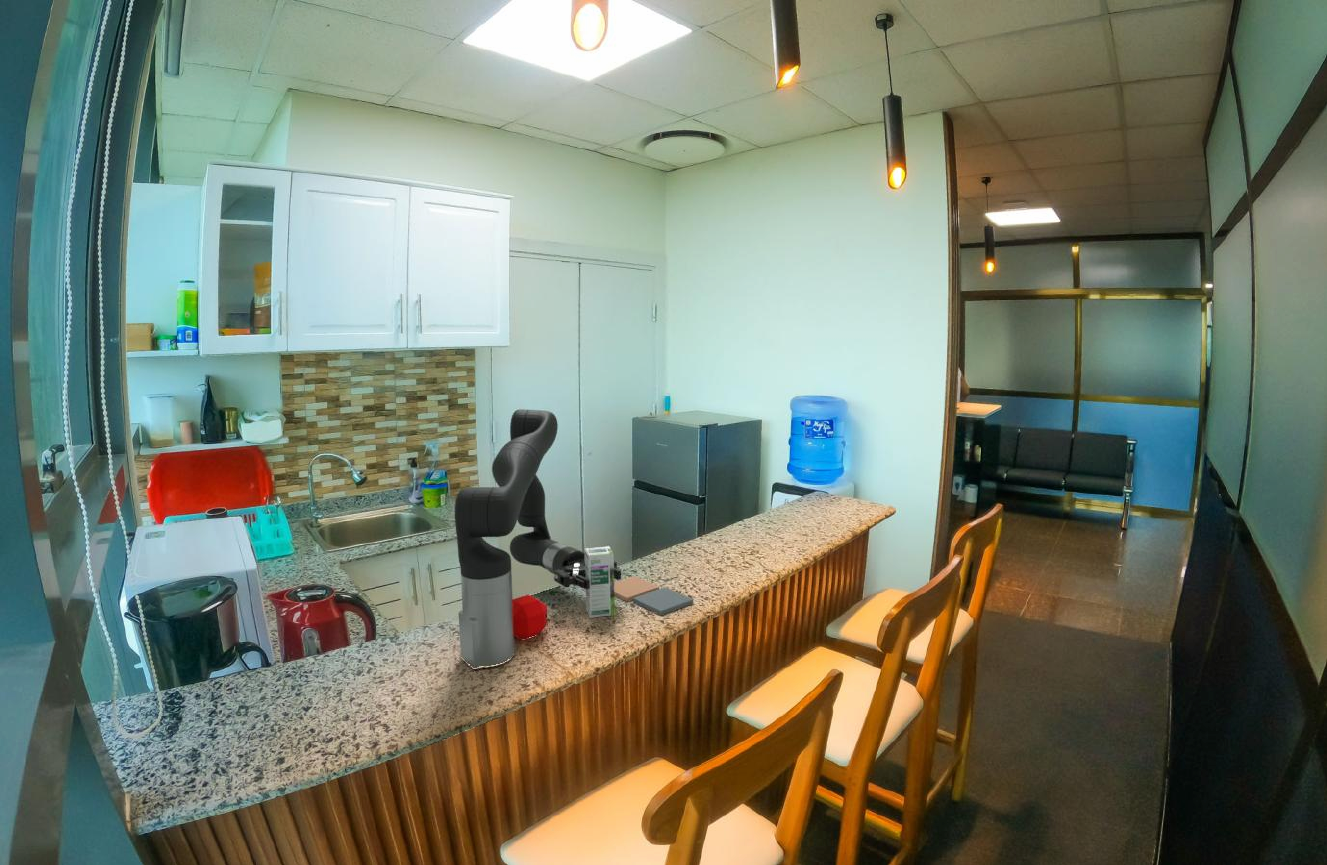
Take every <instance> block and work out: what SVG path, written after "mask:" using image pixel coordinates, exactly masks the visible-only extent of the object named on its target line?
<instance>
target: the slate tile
mask: <svg viewBox="0 0 1327 865" xmlns="http://www.w3.org/2000/svg"><path fill="white" fill-rule="evenodd" d="M632 603H634V604H636V605H637V606H640V607H642V608H645V609H647V610H649V611H651V612H652V613H655V614H657V615H658V616H663V615H666V614H668V613H672V612H674V611H677V610H679V609H682V608H684V607H687V606H690V605H693V604H694V599H693V598H691V597H689V596H687V595H684V594H683V593H680V592H677V591H675V590H672V589H670V588H667V587H666V586H664V587H661V588H659V589H658V590H655V591H652V592H649V593H646V594H643V595H640V596H637V597H634V598H633V600H632Z"/></svg>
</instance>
